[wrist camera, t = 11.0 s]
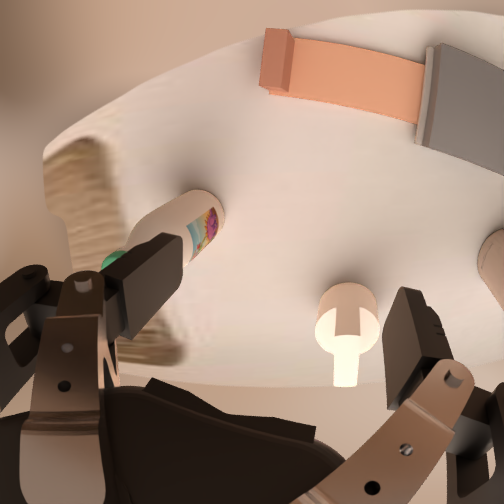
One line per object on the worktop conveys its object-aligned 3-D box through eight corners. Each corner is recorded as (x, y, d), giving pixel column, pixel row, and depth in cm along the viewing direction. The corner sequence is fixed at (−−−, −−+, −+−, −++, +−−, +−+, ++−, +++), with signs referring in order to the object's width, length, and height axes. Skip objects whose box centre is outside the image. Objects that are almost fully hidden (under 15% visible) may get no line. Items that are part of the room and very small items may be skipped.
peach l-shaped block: (436, 70, 27) (451, 63, 22) (428, 128, 31) (444, 129, 26) (277, 37, 31) (266, 24, 26) (269, 94, 35) (258, 89, 30)
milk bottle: (169, 215, 46) (81, 276, 29) (195, 177, 42) (101, 224, 25) (207, 248, 47) (133, 325, 29) (236, 212, 43) (164, 281, 25)
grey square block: (504, 83, 24) (522, 80, 20) (492, 170, 30) (509, 178, 26) (423, 49, 27) (435, 40, 22) (411, 142, 33) (422, 145, 28)
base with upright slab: (374, 330, 45) (378, 386, 34) (319, 331, 47) (310, 386, 37) (378, 281, 41) (386, 333, 31) (317, 282, 44) (308, 334, 34)
